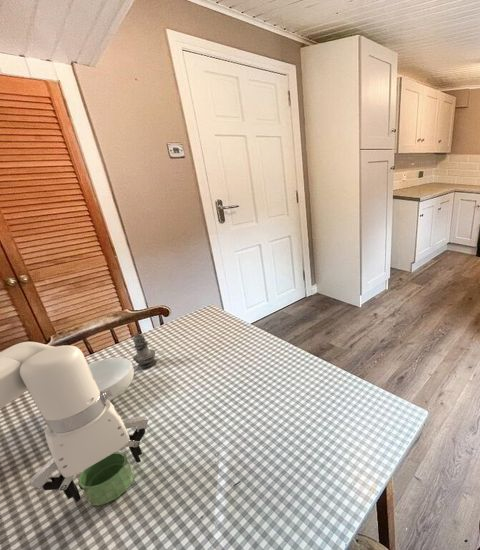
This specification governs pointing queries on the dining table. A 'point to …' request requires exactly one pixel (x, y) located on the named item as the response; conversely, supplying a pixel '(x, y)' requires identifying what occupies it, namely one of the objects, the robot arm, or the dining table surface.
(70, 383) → the robot arm
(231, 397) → the dining table surface
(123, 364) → the cereal bowl
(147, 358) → the grey tall carved piece
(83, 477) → the green bowl
